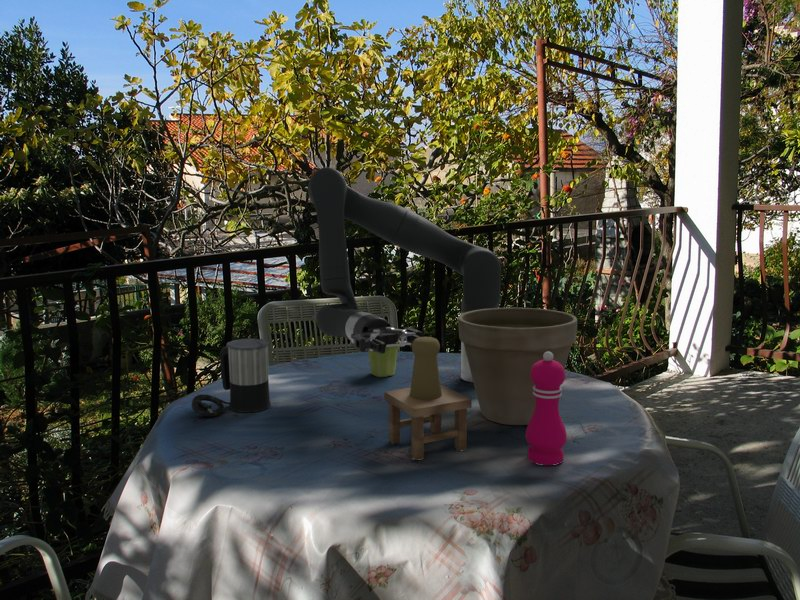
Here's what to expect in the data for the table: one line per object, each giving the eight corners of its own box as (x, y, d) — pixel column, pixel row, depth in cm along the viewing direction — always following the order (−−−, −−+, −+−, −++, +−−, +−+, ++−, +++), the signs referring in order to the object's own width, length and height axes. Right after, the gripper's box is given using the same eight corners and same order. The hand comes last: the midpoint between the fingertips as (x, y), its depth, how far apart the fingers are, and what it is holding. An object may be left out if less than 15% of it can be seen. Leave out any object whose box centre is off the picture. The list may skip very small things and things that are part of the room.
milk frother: (279, 403, 159) (277, 340, 156) (237, 425, 144) (233, 356, 142) (228, 396, 164) (225, 335, 162) (183, 416, 150) (179, 350, 148)
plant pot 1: (402, 369, 186) (402, 338, 185) (399, 379, 177) (398, 346, 175) (368, 369, 187) (367, 337, 186) (362, 378, 178) (362, 345, 176)
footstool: (438, 430, 140) (438, 382, 138) (471, 450, 130) (471, 399, 128) (384, 441, 135) (384, 391, 133) (414, 462, 124) (414, 409, 122)
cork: (445, 391, 133) (445, 335, 131) (436, 401, 127) (437, 342, 125) (415, 388, 134) (415, 333, 133) (405, 398, 129) (405, 340, 127)
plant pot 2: (456, 396, 163) (456, 305, 159) (562, 397, 161) (565, 305, 158) (459, 434, 138) (459, 327, 134) (585, 436, 137) (589, 328, 133)
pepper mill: (520, 452, 128) (522, 347, 125) (558, 451, 129) (562, 346, 126) (531, 468, 121) (533, 357, 118) (571, 466, 122) (575, 356, 119)
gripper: (337, 317, 148) (370, 331, 134) (396, 311, 155) (433, 323, 141) (338, 351, 149) (371, 369, 135) (397, 343, 156) (433, 359, 142)
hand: (402, 345), depth 138 cm, fingers open, 8 cm apart
